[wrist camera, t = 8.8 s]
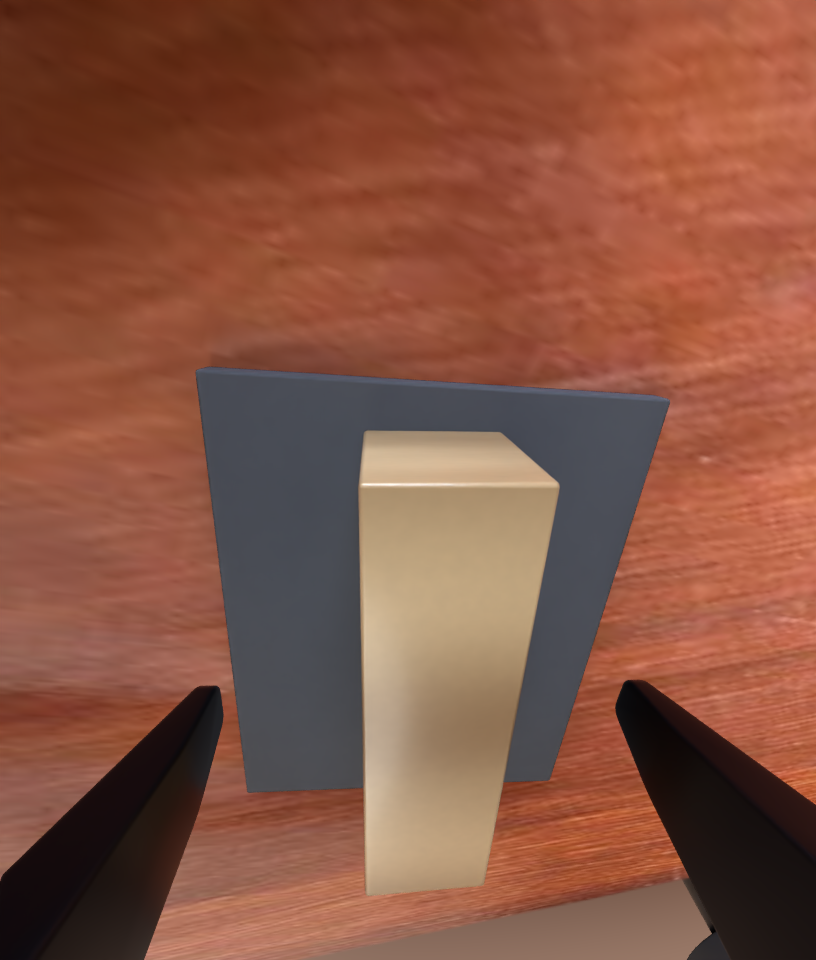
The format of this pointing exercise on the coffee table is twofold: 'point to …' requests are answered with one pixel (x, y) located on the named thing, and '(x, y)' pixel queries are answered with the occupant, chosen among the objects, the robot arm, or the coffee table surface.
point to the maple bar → (443, 644)
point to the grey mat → (335, 548)
